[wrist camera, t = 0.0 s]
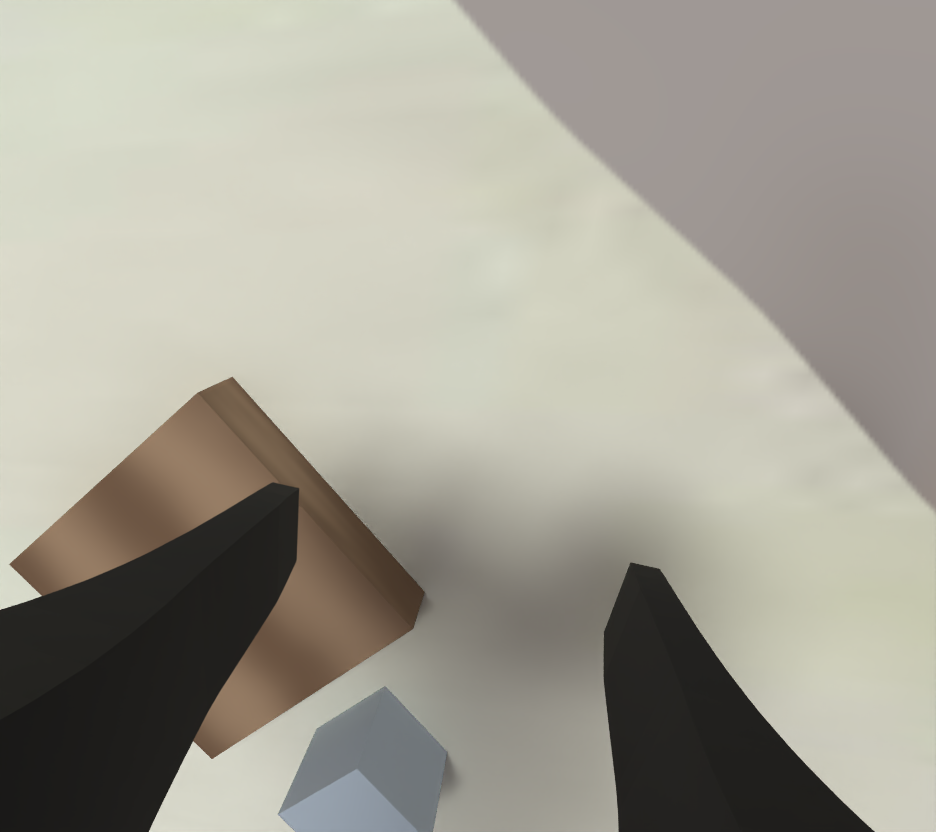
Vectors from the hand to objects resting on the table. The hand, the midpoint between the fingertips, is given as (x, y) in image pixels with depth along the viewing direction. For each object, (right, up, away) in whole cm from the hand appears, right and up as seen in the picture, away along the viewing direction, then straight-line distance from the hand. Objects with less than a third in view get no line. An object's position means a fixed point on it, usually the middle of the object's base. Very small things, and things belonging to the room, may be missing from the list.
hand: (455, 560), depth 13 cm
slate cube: (-4, -12, +15) cm, 20 cm away
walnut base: (-10, -3, +14) cm, 17 cm away
